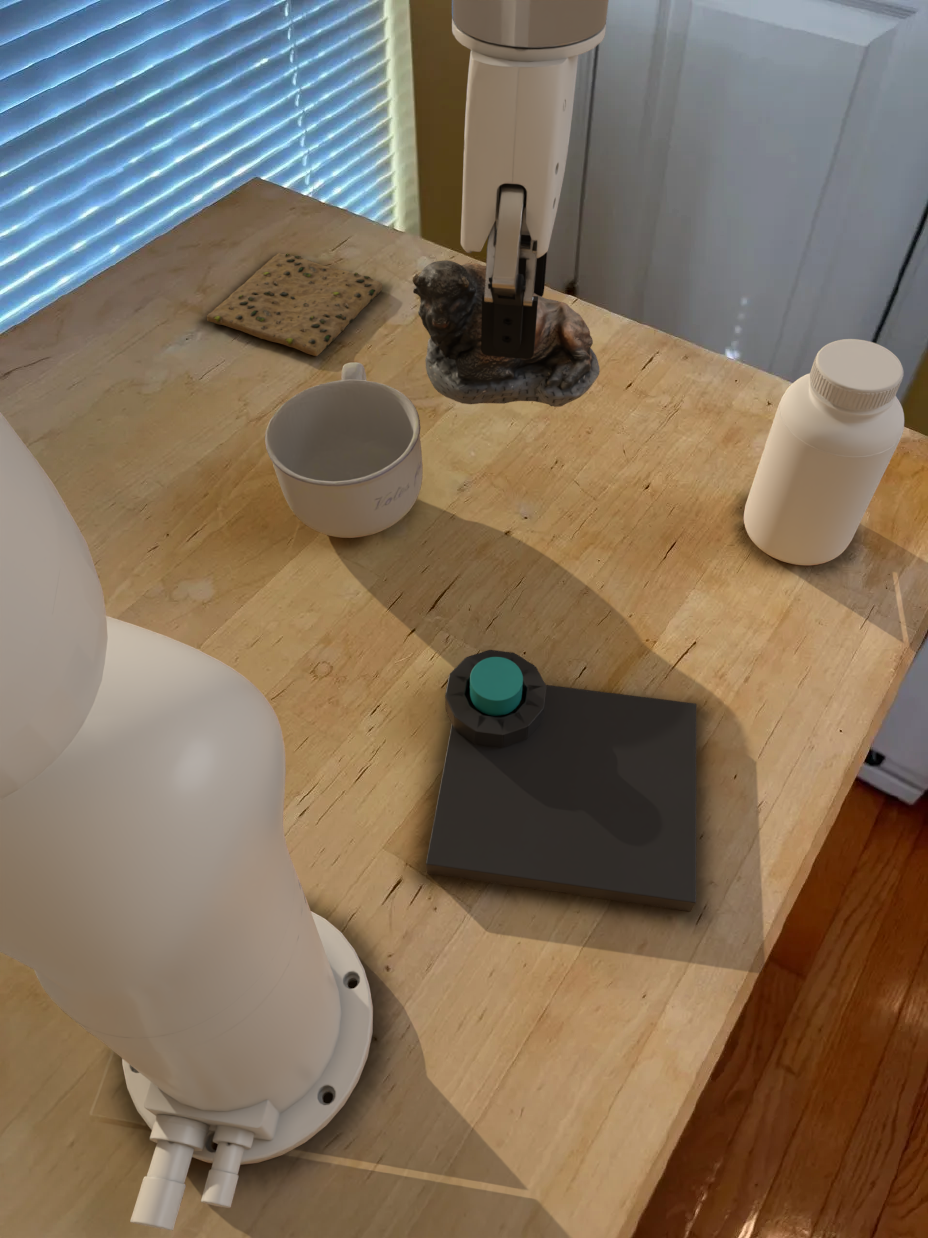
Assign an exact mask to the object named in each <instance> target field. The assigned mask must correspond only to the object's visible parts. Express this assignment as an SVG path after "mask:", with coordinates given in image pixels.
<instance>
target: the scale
mask: <svg viewBox="0 0 928 1238" xmlns="http://www.w3.org/2000/svg"><path fill="white" fill-rule="evenodd" d="M490 657H502V658H506V659H508V660H510V661H512V662H514V663H515V664H516V665H517V666H518V667H519V669H520V670H521V672H522V675H523V687H522V697H521V701H520V703H519V705H518V706H517V707H516V708H515V709H514V710H513V711H512V712H510V713H508V714H505V715H501V716H492V715H488V714H485V713H483V712H481V711H479V710H478V709H477V708H476V707H475V706H474V705H473V703H472V701H471V698H470V675H471V672H472V669H473V668H474V667H475V665H476V664H477V663H479V662H480V661H482V660H484V659H486V658H490ZM444 702H445V703H444V704H445V705H444V707H445V712H446V714H447V716H448V718H449V721H450V723H451V725H450V730H449V737H448V741H447V746H446V752H445V758H444V763H443V768H442V772H441V773H442V774H441V779H440V785H439V789H438V796H437V801H436V807H435V812H434V818H433V822H432V828H431V834H430V840H429V843H428V850H427V855H426V860H425V871H426V874H429V875H436V876H443V877H451V878H456V879H463V880H464V879H465V880H470V881H475V882H476V881H477V882H483V883H492V884H498V885H504V886H511V887H518V888H526V889H532V890H539V891H546V892H553V893H560V894H567V895H574V896H580V897H588V898H595V899H600V900H601V899H602V900H609V901H615V902H621V903H627V904H636V905H643V906H650V907H657V908H662V909H663V908H664V909H670V910H677V911H685V912H692V911H693V909H694V907H695V906H696V904H697V703H695V702H688V701H678V700H671V699H663V698H655V697H647V696H639V695H632V694H631V695H630V694H622V693H615V692H607V691H599V690H592V689H591V690H590V689H582V688H575V687H567V686H561V685H560V686H559V685H551V684H546V683H545V680H544V679H543V677H542V675H541V673H540V671H539V670H538V668H537V666H536V665H535V664H534V663H532V662H530V661H528V660H527V659H525V658H523V657H522V656H520V655H518V653H515V652H513V651H504V650H497V649H496V650H495V649H486V650H483V651H481V652H478V653H475V654H471V655H468V656H465V657H464V659H462V660H461V661H460V663H459V664H458V665H457V666H455V668H454V669H453V670H452V671H450V673H449V675H448V679H447V683H446V689H445V693H444Z"/></svg>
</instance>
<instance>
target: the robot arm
mask: <svg viewBox="0 0 928 1238" xmlns="http://www.w3.org/2000/svg"><path fill="white" fill-rule="evenodd" d="M609 1H610V0H451V33H452V36H453V37H454V39H455V40H456V41H457V42H458V43H459V44H461V46H464V47H465V48H467V49H468V50H470V53H469V63H468V70H467V71H468V72H467V84H466V97H465V114H464V116H465V117H464V133H463V134H464V137H463V138H464V139H463V167H462V169H463V170H462V198H461V199H462V200H461V223H460V246H461V247H462V249H463V251H465V252H466V253H467V254H472V252H477V253H481V251H482V250H483V248H484V246H485V244H486V241H487V244H486V245H487V246H486V261H485V262H486V263H485V266H486V277H485V292H483V295H482V324H481V351H482V353H483V354H484V355H488V356H499V357H510V358H521V359H530V358H532V357H533V355H534V348H535V335H536V321H537V307H538V296H534V293H535V294H537V295H539V296H541V297H543V296H544V294H545V293H544V292H545V288H546V287H545V285H546V272H547V259H548V251H549V247H550V243H551V239H552V235H553V230H554V226H555V222H556V217H557V213H558V207H559V203H560V198H561V192H562V188H563V183H564V177H565V173H566V165H567V159H568V153H569V144H570V138H571V137H570V136H571V131H572V121H573V112H574V111H573V110H574V103H575V102H574V101H575V92H576V82H577V71H578V62H579V56H580V55H582V54H586V53H587V52H589V51H592V50H593V49H595V48H596V47H597V46H598V45H600V44H601V43H602V42H603V41H604V39H605V36H606V31H607V19H608V12H609V11H608V10H609V3H610V2H609ZM95 566H96V565H95V563H94V561H93V557H92V553H91V550H90V548H89V544H88V543H87V541H86V538H85V537H84V535H83V533H82V531H81V530H80V528H79V526H78V525H77V522H76V521H75V519H74V517H73V516H72V513H71V512H70V511H69V509H68V506H67V505H66V503H65V502H64V499H63V498H62V495H61V494H60V493H59V491H58V489H57V487H56V486H55V484H54V483H53V481H52V480H51V478H50V477H49V475H48V473H47V472H46V471H45V470H44V468H43V467H42V466H41V464H40V463H39V461H38V460H37V458H36V456H34V454H33V453H32V452H31V451H30V449H29V448H28V446H27V445H26V444H25V442H24V441H23V440H22V439H21V437H20V436H19V434H17V432H16V431H15V429H14V427H13V426H12V425H11V424H10V423H9V421H8V420H7V419H6V417H5V416H4V414H3V413H2V412H1V411H0V953H2V954H3V955H5V956H7V957H9V958H12V959H13V960H15V961H16V962H17V961H18V962H19V963H21V964H23V965H24V966H26V967H28V968H30V969H32V970H34V974H35V976H36V979H37V980H38V982H39V985H41V987H42V989H43V991H44V992H45V993H46V995H47V996H48V997H49V998H50V999H51V1001H52V1002H53V1003H54V1004H55V1005H56V1006H57V1007H58V1008H59V1009H60V1010H61V1011H62V1012H63V1013H65V1014H66V1015H67V1016H68V1017H69V1018H71V1019H72V1020H73V1021H74V1022H75V1023H76V1024H78V1025H79V1026H80V1027H81V1028H82V1029H84V1030H85V1031H86V1032H87V1033H89V1034H90V1035H92V1036H93V1037H94V1038H96V1039H98V1040H99V1041H100V1042H102V1043H103V1044H104V1045H105V1046H106V1047H107V1048H109V1049H110V1050H111V1051H113V1052H114V1053H115V1054H116V1055H117V1056H118V1057H120V1058H121V1064H122V1069H123V1074H124V1079H125V1083H126V1088H127V1092H128V1093H129V1095H130V1098H131V1100H132V1102H133V1105H134V1107H135V1109H136V1111H137V1113H138V1114H139V1116H140V1117H141V1118H142V1119H143V1121H144V1122H145V1124H146V1125H147V1126H148V1127H149V1129H150V1131H151V1132H150V1136H149V1141H151V1142H154V1143H156V1144H155V1149H154V1151H153V1155H152V1157H151V1161H150V1164H149V1167H148V1171H147V1173H146V1175H145V1176H143V1179H142V1182H141V1185H140V1189H139V1192H138V1194H137V1198H136V1202H135V1205H134V1207H133V1212H132V1214H131V1217H130V1221H129V1223H132V1224H135V1225H139V1226H144V1227H149V1228H153V1229H159V1230H165V1231H174V1229H175V1225H176V1222H177V1218H178V1216H179V1215H178V1214H179V1211H180V1208H181V1204H182V1201H183V1198H184V1194H185V1191H186V1187H187V1184H185V1183H186V1179H187V1175H188V1172H189V1170H190V1169H189V1168H190V1165H191V1162H192V1158H193V1159H197V1160H199V1161H201V1162H205V1163H207V1164H212V1165H211V1169H209V1170H208V1174H207V1178H206V1181H205V1185H204V1187H203V1192H202V1196H201V1200H200V1203H203V1204H205V1205H209V1206H214V1207H220V1208H225V1209H231V1207H232V1204H233V1200H234V1197H235V1192H236V1188H237V1184H238V1180H239V1176H240V1175H239V1171H240V1168H241V1166H242V1165H251V1164H258V1163H261V1162H264V1161H268V1160H272V1159H274V1158H277V1157H280V1156H284V1155H285V1154H287V1153H289V1152H290V1151H293V1150H294V1149H296V1148H298V1147H300V1146H301V1145H304V1144H305V1143H306V1142H309V1140H311V1139H312V1138H313V1137H314V1136H315V1135H316V1134H318V1133H319V1132H321V1131H322V1130H323V1129H324V1128H325V1127H327V1126H328V1124H329V1123H330V1122H331V1121H332V1120H333V1119H334V1118H335V1116H336V1115H337V1114H338V1113H339V1112H340V1110H341V1109H343V1107H344V1106H345V1105H346V1103H347V1101H348V1100H349V1098H350V1096H351V1094H352V1093H353V1091H354V1090H355V1088H356V1086H357V1085H358V1083H359V1081H360V1078H361V1075H362V1073H363V1070H364V1068H365V1065H366V1063H367V1060H368V1057H369V1053H370V1048H371V1042H372V1037H373V1033H374V1032H373V1031H374V1030H373V1029H374V1024H373V1023H374V1005H373V1000H372V994H371V993H372V992H371V987H370V984H369V980H368V978H367V977H368V976H367V973H366V970H365V968H364V966H363V964H362V961H361V959H360V958H359V955H358V953H357V952H356V950H355V948H354V947H353V946H352V945H351V943H350V941H348V939H347V938H346V936H345V935H344V934H343V933H342V931H340V930H339V929H338V928H337V927H336V926H335V925H333V924H332V923H331V922H330V921H329V920H328V919H326V918H324V917H323V916H321V915H319V914H317V913H315V912H314V911H311V908H310V906H309V903H308V900H307V896H306V894H305V891H304V888H303V885H302V883H301V881H300V878H299V875H298V872H297V870H296V868H295V864H294V863H293V860H292V857H291V853H290V850H289V848H288V845H287V840H286V835H285V827H284V814H285V813H284V811H285V810H284V809H285V794H286V779H287V777H286V776H287V767H286V766H287V765H286V763H287V762H286V745H285V741H284V735H283V731H282V730H283V729H282V727H281V723H280V721H279V718H278V715H277V713H276V711H275V710H274V708H273V706H272V705H271V703H270V702H269V700H268V699H267V697H266V696H265V695H264V693H262V691H261V690H260V689H259V688H258V687H257V686H256V685H255V684H254V683H253V682H252V681H251V680H249V679H248V678H247V677H246V676H244V675H243V674H242V673H240V672H239V671H237V670H236V669H234V668H233V667H232V666H230V665H228V664H226V663H224V662H223V661H221V660H220V659H218V658H215V657H214V656H211V655H209V654H208V653H206V652H203V651H202V650H200V649H198V648H196V647H193V646H191V645H189V644H187V643H184V642H182V641H179V640H177V639H175V638H172V637H170V636H167V635H165V634H163V633H162V634H161V633H159V632H156V631H154V630H151V629H148V628H145V627H142V626H140V625H136V624H135V623H131V622H127V621H125V620H121V619H119V618H116V617H113V616H109V615H107V609H106V602H105V597H104V589H103V587H102V584H101V581H100V578H99V575H98V572H97V569H96V567H95ZM353 981H355V982H356V983H357V984H356V986H355V987H354V988H353V987H352V988H351V987H349V985H350V983H351V982H353ZM327 1094H331V1095H332V1100H331V1101H329V1102H324V1098H325V1096H326V1095H327ZM214 1144H217V1147H216V1149H214Z"/></svg>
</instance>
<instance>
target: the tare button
mask: <svg viewBox="0 0 928 1238" xmlns="http://www.w3.org/2000/svg"><path fill="white" fill-rule="evenodd" d="M522 687H523V675H522V672H521V670H520V669H519V667H518V666H517V665H516V664H515V663H514V662H512V661H510V660H508V659H506V658H502V657H490V658H486V659H484V660H482V661H480V662H479V663H477V664H476V665H475V667H474V668H473V669H472V672H471V675H470V698H471V701H472V703H473V705H474V706H475V707H476V708H477V709H478V710H479V711H481V712H483V713H485V714H488V715H492V716H501V715H505V714H508V713H510V712H512V711H513V710H514V709H515V708H516V707H517V706H518V705H519V703H520V701H521V697H522Z"/></svg>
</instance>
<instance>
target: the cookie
mask: <svg viewBox="0 0 928 1238" xmlns="http://www.w3.org/2000/svg"><path fill="white" fill-rule="evenodd" d="M382 290H383V283H382V282H380V281H378V280H375V279H372V278H371V276H368V275H361V274H359V273H358V272H351V271H348V270H344V269H339V268H335V267H331V266H326V265H323V264H320V263H318V262H315V261H312V260H309V259H306V258H303V257H302V256H301V255H292V254H290V253H289V252H288V253H281V252H278V253H277V254H275V255H274V256H273V257H271V258H270V259H269V260H268V261H267V262H265V264H264V265H262V267H261V268H259V269H258V270H256V271H255V272H254V273H253V275H252V276H250V277H249V278H248V279H247V280H246V281H245V282H244V283H243V284H242V285H240V286H239V287H238V288H236V290H234V291H233V292H232V293H230V295H229V296H228V297H227V298H226V299H225V300H224V301H222V302H221V303H220V304H219V305H218V306H217V307H215V308H214V309H213V310H212V311H211V312H209V313H208V314H206V320H207V322H209V323H214V324H216V325H222V326H226V327H228V328H231V329H234V330H237V331H241V332H243V333H246V334H248V335H250V336H254V337H257V338H259V339H260V340H266V341H268V342H273V343H278V344H281V345H284V346H286V347H289V348H293V349H296V350H297V351H301V352H302V353H305V354H308V355H310V356H313V357H318V356H319V355H321V353H323V351H324V350H325V349H327V348H328V347H329V345H330V344H331V343H332V342H335V339H336V338H337V337H338V336H339V335H340V334H341V333H342V332H344V331H345V329H346V327H347V326H349V324H351V323H353V321H354V319H356V317H357V316H358V315H359V314H360V312H362V310H364V308H366V307H367V306H368V304H369V303H371V302H372V301H373V299H374V298H375V297H376V296H378V295H379V293H380V292H382Z"/></svg>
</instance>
